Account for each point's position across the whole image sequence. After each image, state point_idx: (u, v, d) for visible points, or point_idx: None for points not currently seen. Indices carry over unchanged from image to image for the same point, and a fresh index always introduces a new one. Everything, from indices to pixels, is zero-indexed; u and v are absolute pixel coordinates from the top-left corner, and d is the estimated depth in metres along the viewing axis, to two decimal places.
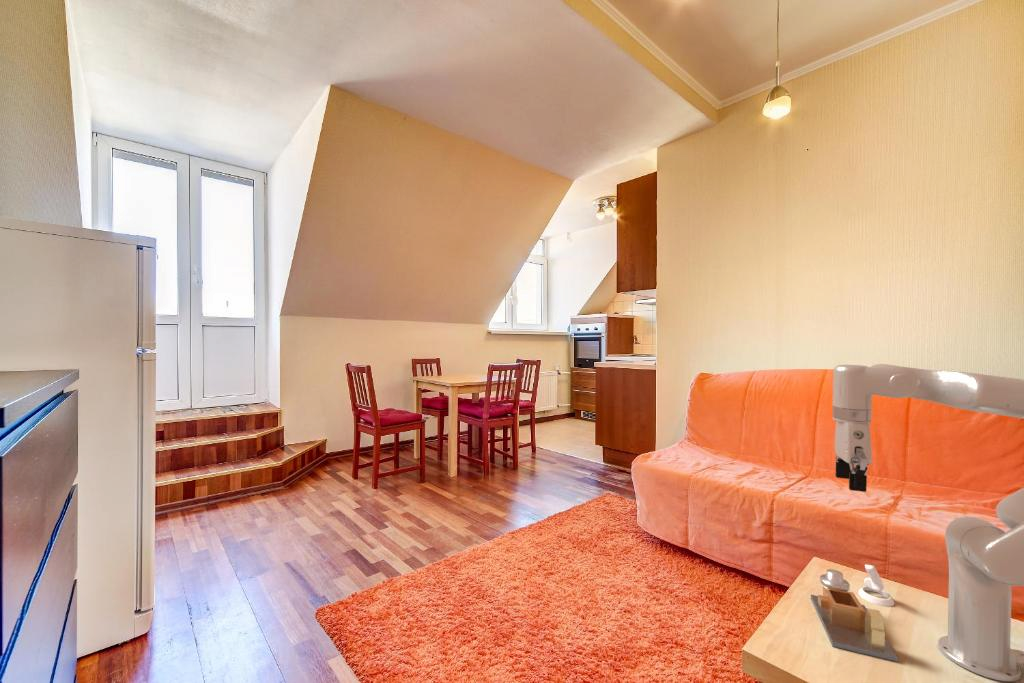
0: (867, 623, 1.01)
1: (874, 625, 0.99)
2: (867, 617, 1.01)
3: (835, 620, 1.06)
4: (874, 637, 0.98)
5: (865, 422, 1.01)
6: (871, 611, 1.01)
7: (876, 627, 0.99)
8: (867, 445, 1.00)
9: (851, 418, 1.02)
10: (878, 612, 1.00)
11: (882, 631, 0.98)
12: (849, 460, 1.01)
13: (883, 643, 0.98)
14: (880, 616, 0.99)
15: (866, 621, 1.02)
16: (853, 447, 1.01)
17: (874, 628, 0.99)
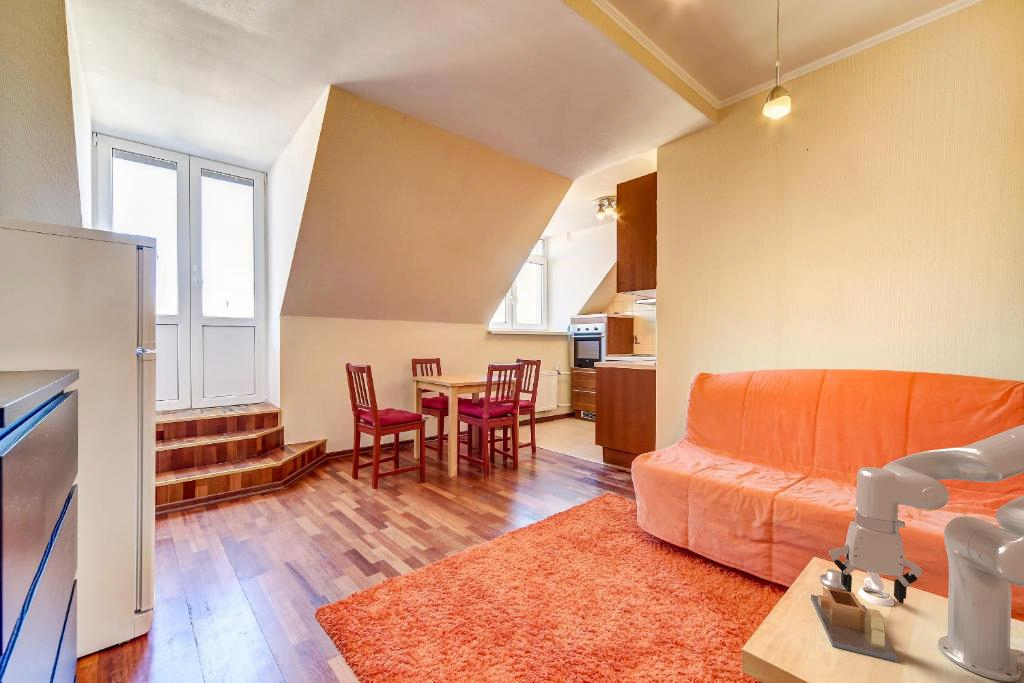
0: (867, 623, 1.01)
1: (874, 625, 0.99)
2: (867, 617, 1.01)
3: (835, 620, 1.06)
4: (874, 637, 0.98)
5: None
6: (871, 611, 1.01)
7: (876, 627, 0.99)
8: None
9: None
10: (878, 612, 1.00)
11: (882, 631, 0.98)
12: (903, 573, 0.97)
13: (883, 643, 0.98)
14: (880, 616, 0.99)
15: (866, 621, 1.02)
16: None
17: (874, 628, 0.99)
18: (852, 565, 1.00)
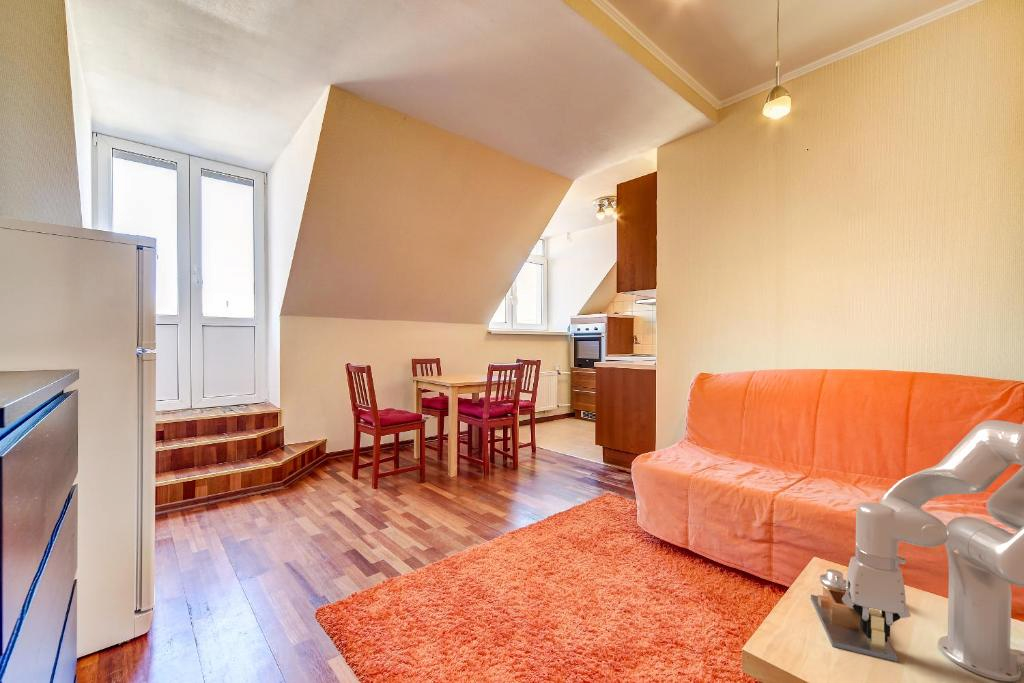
0: None
1: (874, 625, 0.99)
2: None
3: (835, 620, 1.06)
4: (874, 637, 0.98)
5: None
6: (871, 611, 1.01)
7: (876, 627, 0.99)
8: None
9: None
10: (878, 612, 1.00)
11: (882, 631, 0.98)
12: (904, 610, 0.97)
13: (883, 643, 0.98)
14: (880, 616, 0.99)
15: None
16: None
17: (874, 628, 0.99)
18: (854, 602, 1.00)
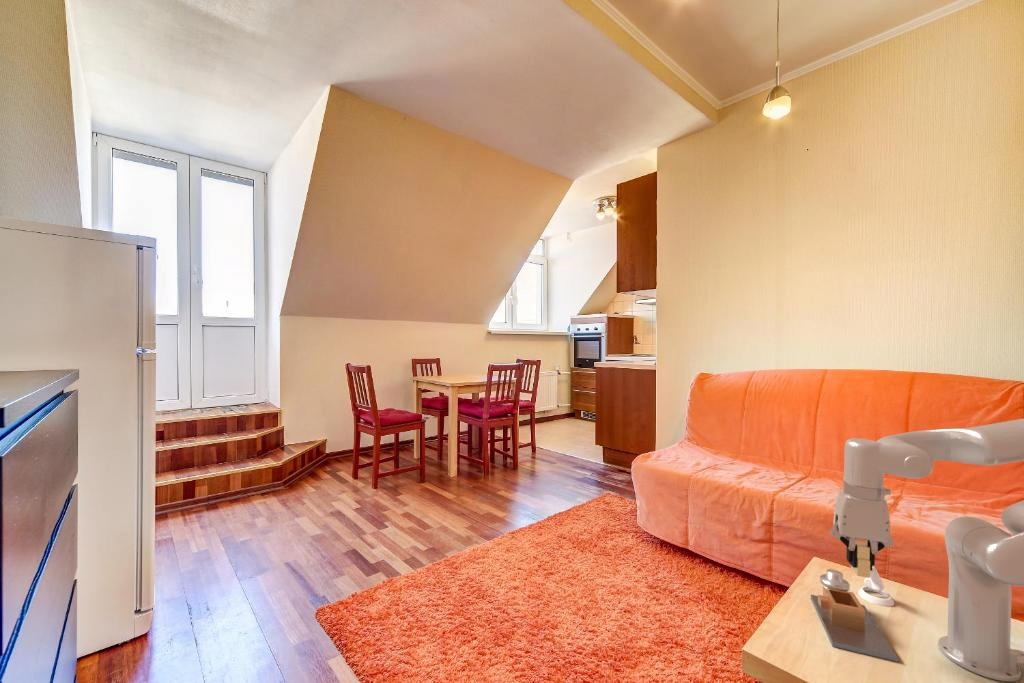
0: None
1: (860, 555, 1.02)
2: None
3: (835, 620, 1.06)
4: (860, 567, 1.02)
5: None
6: (857, 542, 1.04)
7: (862, 557, 1.02)
8: None
9: None
10: (864, 543, 1.04)
11: (868, 560, 1.02)
12: (889, 539, 1.00)
13: (868, 571, 1.01)
14: (866, 546, 1.02)
15: None
16: None
17: (860, 557, 1.02)
18: (841, 533, 1.03)
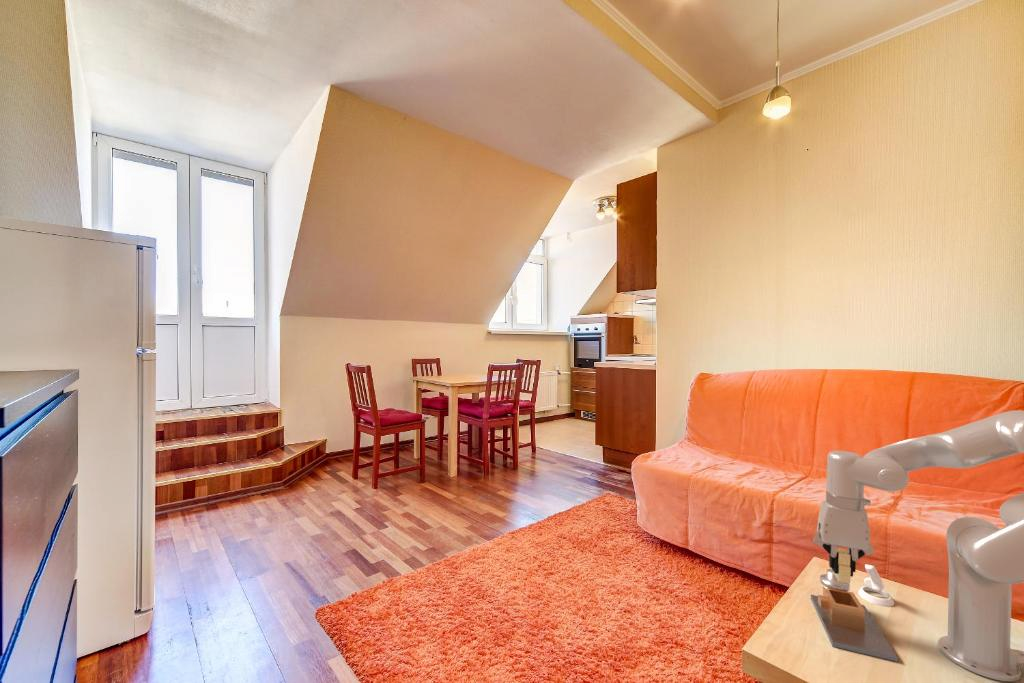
0: None
1: (841, 561, 1.08)
2: None
3: (835, 620, 1.06)
4: (841, 572, 1.07)
5: None
6: (839, 549, 1.09)
7: (843, 563, 1.08)
8: None
9: None
10: (845, 550, 1.09)
11: (848, 566, 1.07)
12: (868, 547, 1.05)
13: (849, 577, 1.07)
14: (847, 553, 1.08)
15: None
16: None
17: (841, 564, 1.08)
18: (823, 540, 1.09)
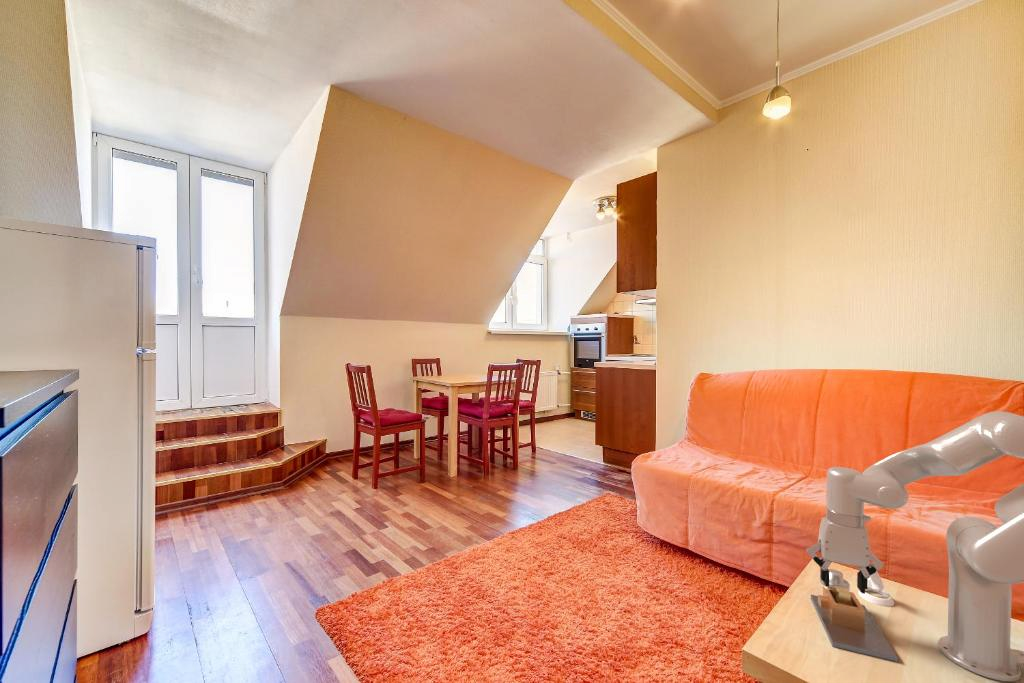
0: (836, 600, 1.10)
1: (841, 601, 1.08)
2: (836, 594, 1.10)
3: (835, 620, 1.06)
4: None
5: None
6: (840, 589, 1.09)
7: (843, 603, 1.08)
8: None
9: None
10: (846, 590, 1.09)
11: None
12: (869, 564, 1.05)
13: None
14: (847, 593, 1.08)
15: (836, 598, 1.11)
16: None
17: (841, 603, 1.08)
18: (824, 557, 1.09)
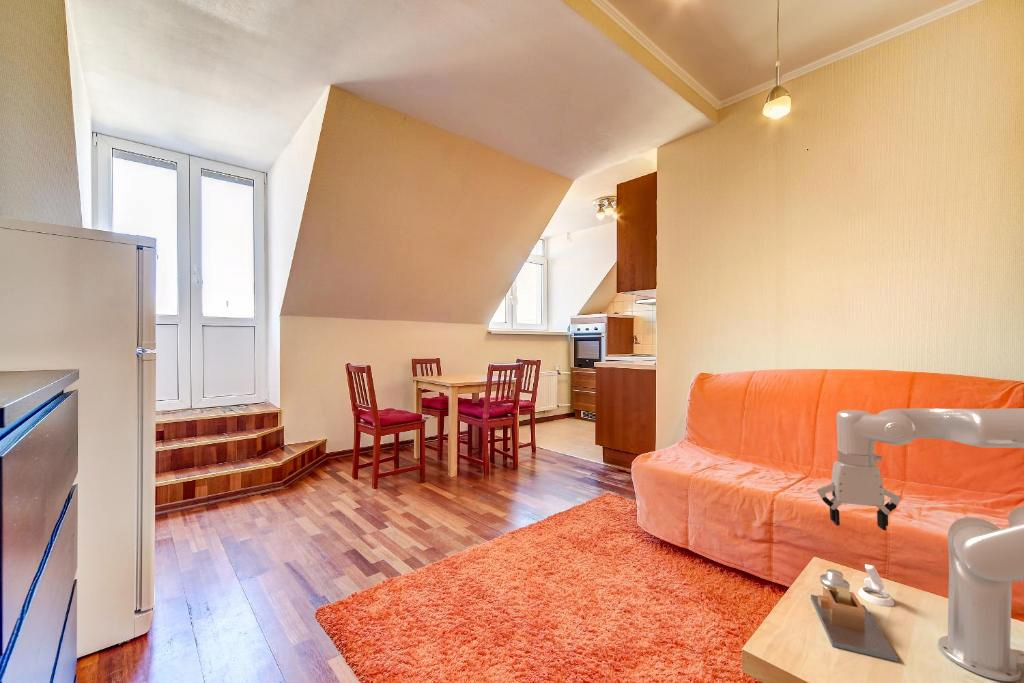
0: (836, 600, 1.10)
1: (841, 601, 1.08)
2: (836, 594, 1.10)
3: (835, 620, 1.06)
4: None
5: None
6: (840, 589, 1.09)
7: (843, 603, 1.08)
8: None
9: None
10: (846, 590, 1.09)
11: None
12: (883, 502, 1.06)
13: None
14: (847, 593, 1.08)
15: (836, 598, 1.11)
16: None
17: (841, 603, 1.08)
18: (838, 500, 1.09)
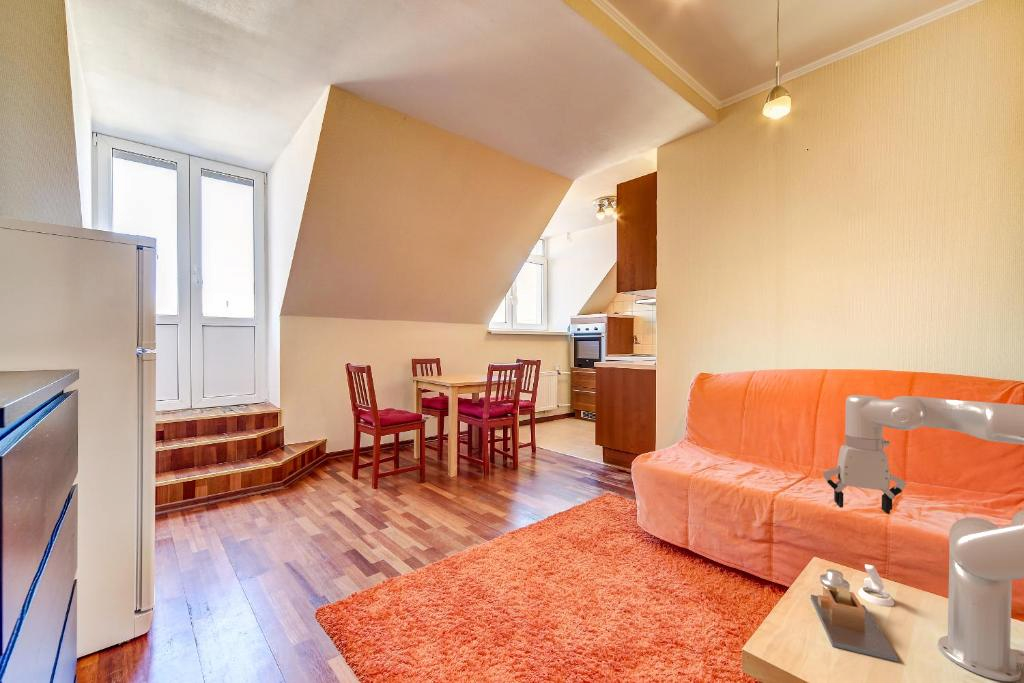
0: (836, 600, 1.10)
1: (841, 601, 1.08)
2: (836, 594, 1.10)
3: (835, 620, 1.06)
4: None
5: None
6: (840, 589, 1.09)
7: (843, 603, 1.08)
8: None
9: None
10: (846, 590, 1.09)
11: None
12: (888, 487, 1.07)
13: None
14: (847, 593, 1.08)
15: (836, 598, 1.11)
16: None
17: (841, 603, 1.08)
18: (843, 483, 1.11)
